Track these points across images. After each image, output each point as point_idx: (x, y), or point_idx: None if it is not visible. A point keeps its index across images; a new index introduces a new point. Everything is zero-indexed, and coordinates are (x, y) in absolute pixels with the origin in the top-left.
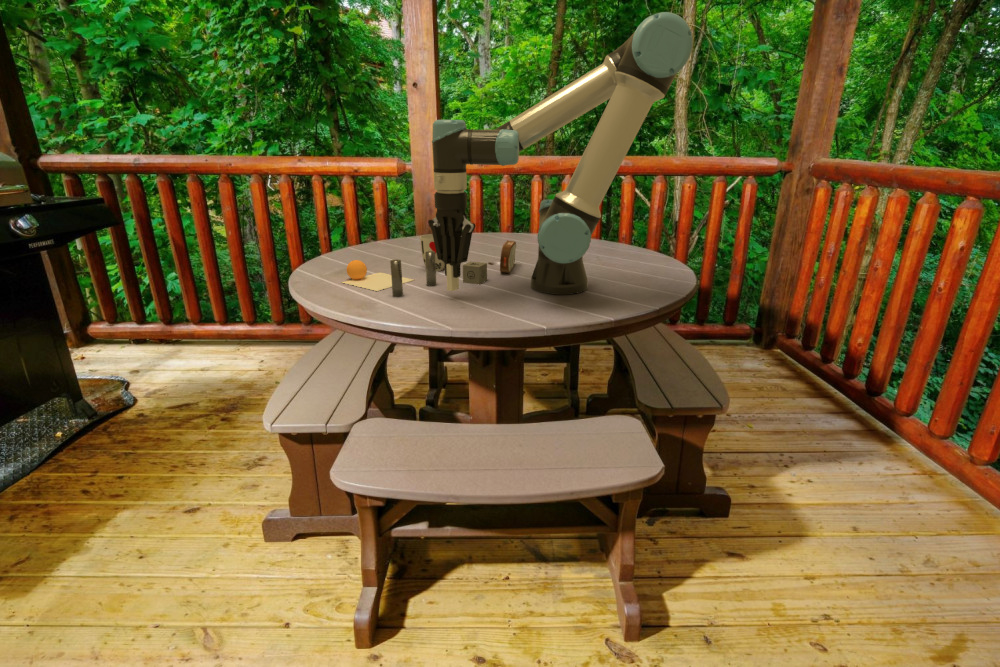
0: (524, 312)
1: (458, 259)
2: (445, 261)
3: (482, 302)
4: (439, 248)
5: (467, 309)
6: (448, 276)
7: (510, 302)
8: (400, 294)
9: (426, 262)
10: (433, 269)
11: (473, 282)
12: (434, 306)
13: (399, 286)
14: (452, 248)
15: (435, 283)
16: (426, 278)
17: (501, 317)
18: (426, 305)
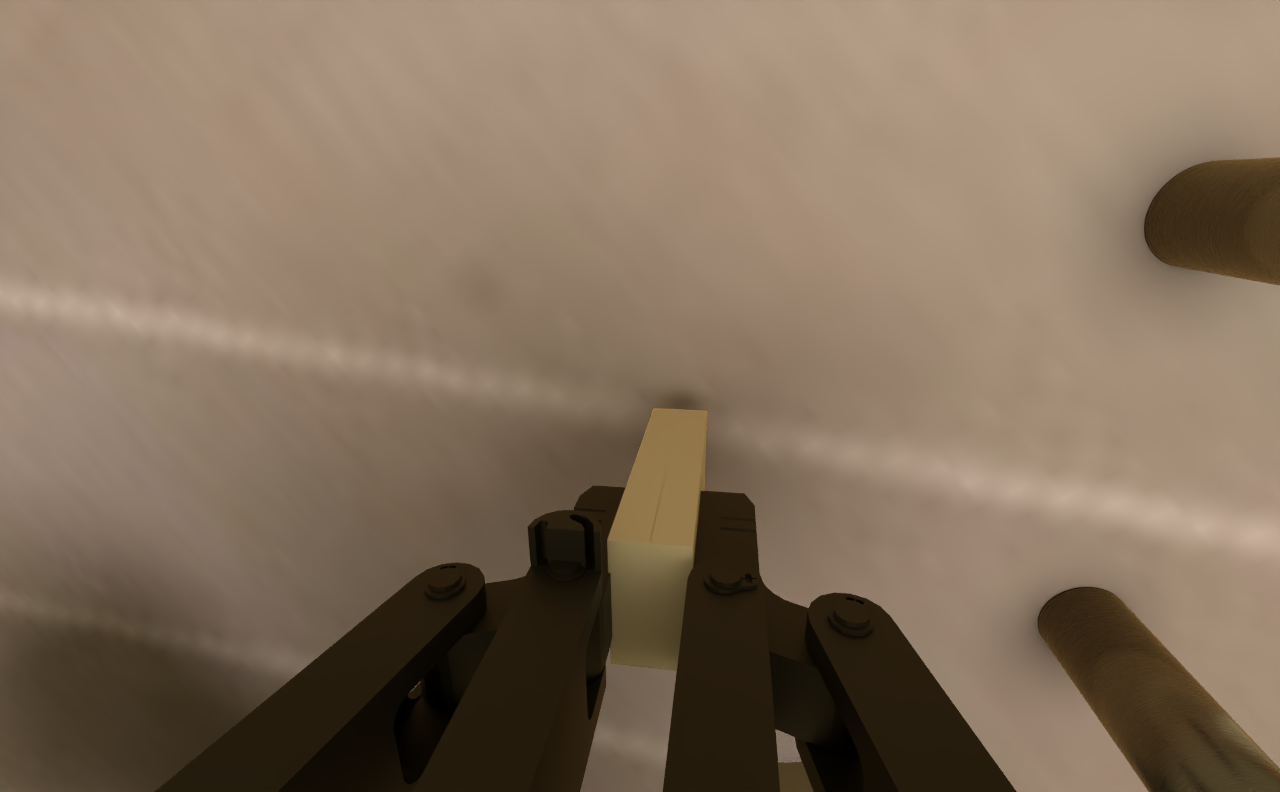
0: (149, 433)
1: (444, 599)
2: (709, 572)
3: (464, 462)
4: (881, 765)
5: (428, 274)
6: (676, 467)
7: (340, 549)
8: (1167, 204)
9: (1277, 779)
10: (1130, 728)
11: (799, 772)
12: (676, 174)
13: (1240, 202)
14: (497, 756)
15: (1046, 634)
16: (1157, 639)
17: (156, 271)
18: (752, 151)
